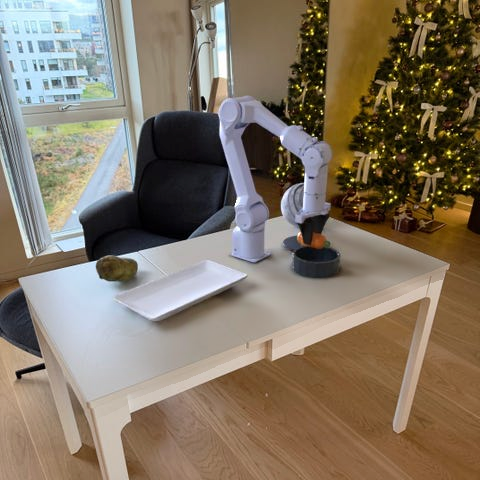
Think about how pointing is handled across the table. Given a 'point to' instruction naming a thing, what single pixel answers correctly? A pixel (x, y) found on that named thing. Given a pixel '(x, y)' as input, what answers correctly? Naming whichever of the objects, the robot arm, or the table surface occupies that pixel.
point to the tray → (180, 290)
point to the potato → (116, 268)
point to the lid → (292, 243)
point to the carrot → (315, 241)
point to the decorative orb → (292, 202)
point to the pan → (316, 262)
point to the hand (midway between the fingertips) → (311, 241)
